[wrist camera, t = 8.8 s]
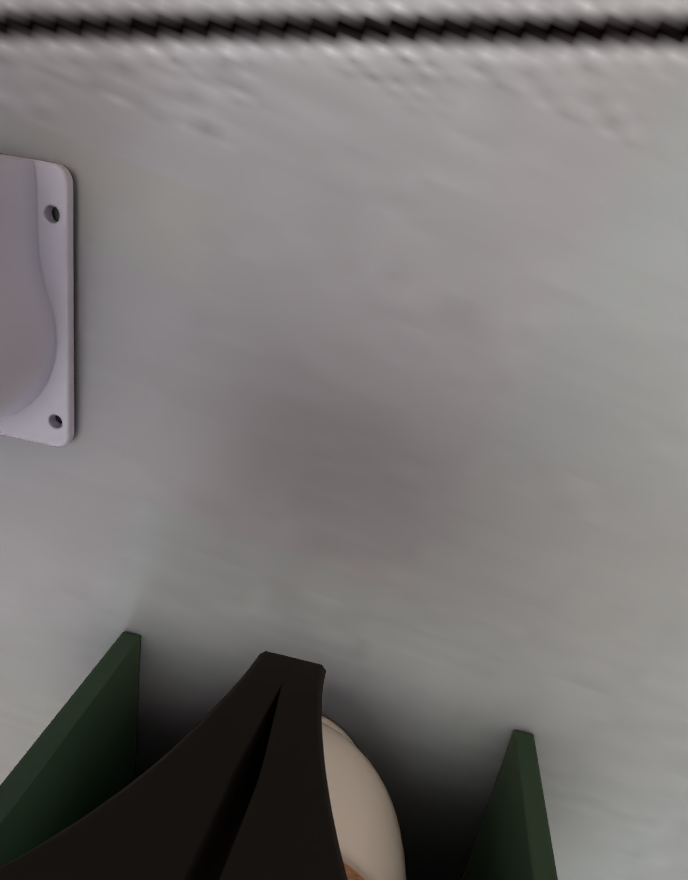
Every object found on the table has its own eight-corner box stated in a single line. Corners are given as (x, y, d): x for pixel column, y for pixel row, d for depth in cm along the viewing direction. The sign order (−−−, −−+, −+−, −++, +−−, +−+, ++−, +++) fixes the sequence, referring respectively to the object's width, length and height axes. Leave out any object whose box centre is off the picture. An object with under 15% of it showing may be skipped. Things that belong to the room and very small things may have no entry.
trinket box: (472, 787, 25) (485, 1096, 16) (296, 882, 28) (229, 1175, 20) (289, 612, 23) (192, 847, 14) (129, 737, 27) (-25, 982, 18)
